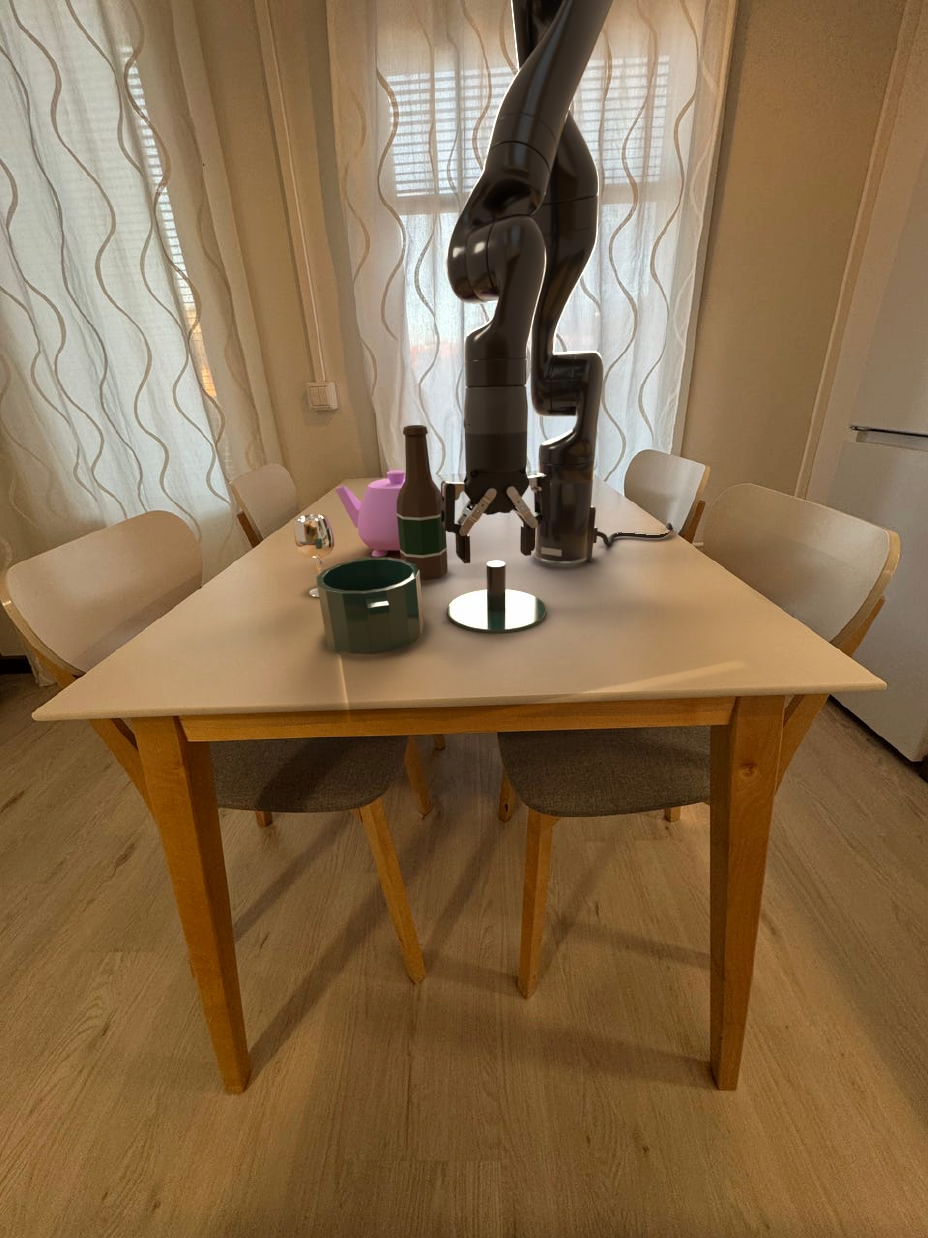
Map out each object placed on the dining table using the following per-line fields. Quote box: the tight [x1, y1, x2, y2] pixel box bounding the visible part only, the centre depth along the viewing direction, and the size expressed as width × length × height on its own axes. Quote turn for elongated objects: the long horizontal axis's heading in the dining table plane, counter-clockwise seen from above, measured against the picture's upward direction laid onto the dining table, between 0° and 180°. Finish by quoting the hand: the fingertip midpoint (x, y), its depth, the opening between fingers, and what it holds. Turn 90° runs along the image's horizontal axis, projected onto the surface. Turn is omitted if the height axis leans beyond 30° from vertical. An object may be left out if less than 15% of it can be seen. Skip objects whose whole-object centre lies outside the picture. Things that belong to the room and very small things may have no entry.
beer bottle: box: [397, 424, 448, 582], centre depth 80 cm, size 8×8×24 cm
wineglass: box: [294, 513, 335, 598], centre depth 78 cm, size 6×6×12 cm
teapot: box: [335, 469, 406, 558], centre depth 98 cm, size 20×20×15 cm
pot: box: [315, 556, 425, 655], centre depth 64 cm, size 13×18×8 cm
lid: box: [447, 560, 547, 634], centre depth 69 cm, size 14×14×8 cm
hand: (496, 557), depth 67 cm, fingers open, 8 cm apart
